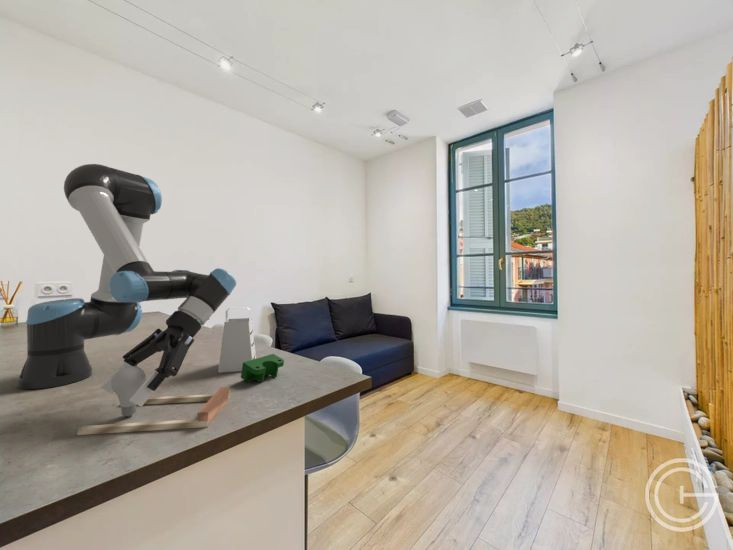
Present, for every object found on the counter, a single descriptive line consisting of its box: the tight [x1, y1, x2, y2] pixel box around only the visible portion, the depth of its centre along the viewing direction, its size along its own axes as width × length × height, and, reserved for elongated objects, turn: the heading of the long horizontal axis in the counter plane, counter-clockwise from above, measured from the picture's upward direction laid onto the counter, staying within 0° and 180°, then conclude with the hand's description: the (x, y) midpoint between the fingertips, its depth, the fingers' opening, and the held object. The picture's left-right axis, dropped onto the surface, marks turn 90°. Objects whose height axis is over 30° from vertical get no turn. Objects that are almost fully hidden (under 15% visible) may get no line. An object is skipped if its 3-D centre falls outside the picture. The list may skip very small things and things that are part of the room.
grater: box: [217, 306, 257, 373], centre depth 102 cm, size 10×10×20 cm
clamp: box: [240, 353, 285, 383], centre depth 91 cm, size 12×6×9 cm, turn 142°
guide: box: [77, 386, 230, 436], centre depth 68 cm, size 24×14×3 cm, turn 98°
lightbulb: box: [111, 366, 147, 418], centre depth 67 cm, size 6×6×11 cm
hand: (119, 396), depth 65 cm, fingers open, 13 cm apart
